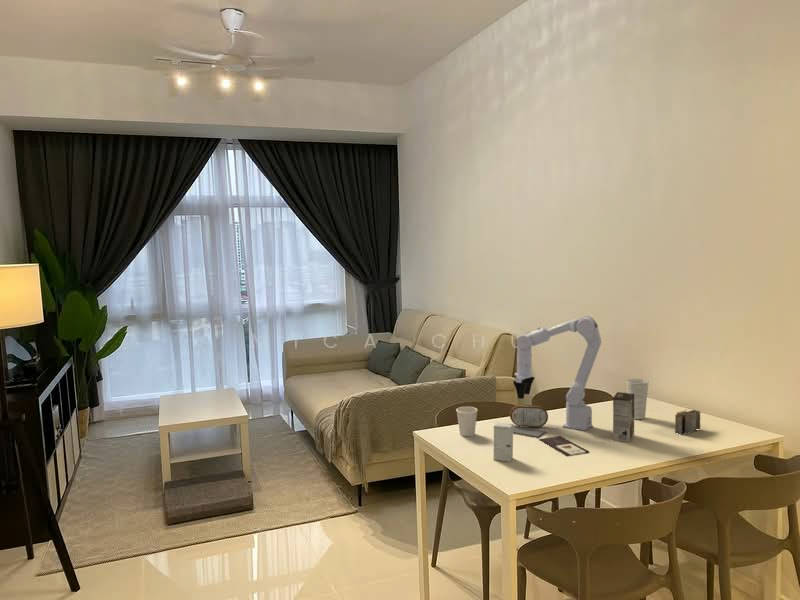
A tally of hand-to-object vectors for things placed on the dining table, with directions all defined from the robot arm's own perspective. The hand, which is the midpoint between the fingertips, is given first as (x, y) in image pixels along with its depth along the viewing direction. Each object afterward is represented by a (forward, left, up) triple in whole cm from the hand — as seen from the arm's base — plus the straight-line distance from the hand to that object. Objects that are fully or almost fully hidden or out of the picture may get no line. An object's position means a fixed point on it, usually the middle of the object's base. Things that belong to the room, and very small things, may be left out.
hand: (523, 396), depth 247 cm
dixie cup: (+11, +27, -11) cm, 31 cm away
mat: (-5, +13, -11) cm, 17 cm away
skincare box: (-13, +43, -11) cm, 46 cm away
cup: (-37, -29, -11) cm, 48 cm away
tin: (-5, +6, -10) cm, 13 cm away
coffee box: (-40, -1, -11) cm, 42 cm away
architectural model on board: (-58, -21, -11) cm, 63 cm away
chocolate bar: (-25, +20, -11) cm, 34 cm away
